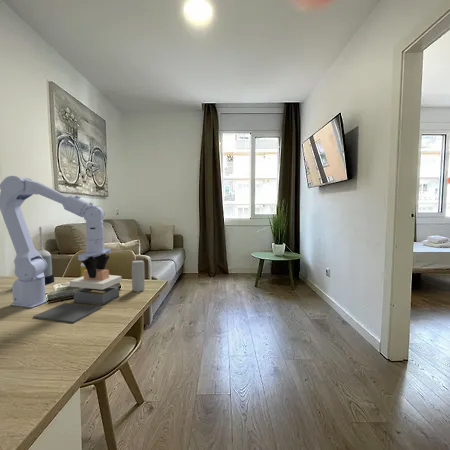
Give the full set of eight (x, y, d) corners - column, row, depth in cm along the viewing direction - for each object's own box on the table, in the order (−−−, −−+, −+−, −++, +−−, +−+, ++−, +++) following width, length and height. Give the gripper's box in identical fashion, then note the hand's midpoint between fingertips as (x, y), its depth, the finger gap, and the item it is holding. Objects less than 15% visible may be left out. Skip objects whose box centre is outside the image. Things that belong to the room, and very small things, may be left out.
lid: (69, 286, 95) (69, 272, 95) (91, 278, 106) (91, 266, 105) (102, 289, 92) (102, 275, 92) (121, 281, 102) (121, 268, 102)
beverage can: (133, 288, 112) (133, 260, 111) (145, 288, 112) (145, 260, 111) (130, 292, 107) (130, 262, 106) (143, 292, 107) (142, 262, 107)
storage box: (74, 301, 96) (73, 292, 96) (92, 293, 105) (91, 285, 105) (102, 305, 93) (102, 295, 93) (119, 296, 102) (118, 287, 102)
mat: (32, 317, 83) (32, 316, 83) (64, 304, 94) (64, 302, 94) (73, 323, 79) (73, 321, 79) (101, 308, 91) (101, 306, 91)
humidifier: (37, 280, 123) (34, 226, 121) (57, 279, 125) (54, 226, 123) (28, 285, 115) (25, 227, 113) (50, 284, 117) (47, 227, 115)
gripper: (90, 242, 90) (91, 282, 91) (117, 237, 104) (118, 272, 105) (72, 241, 91) (73, 280, 92) (101, 236, 105) (102, 270, 106)
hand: (96, 276), depth 99 cm, fingers closed on lid, 3 cm apart
